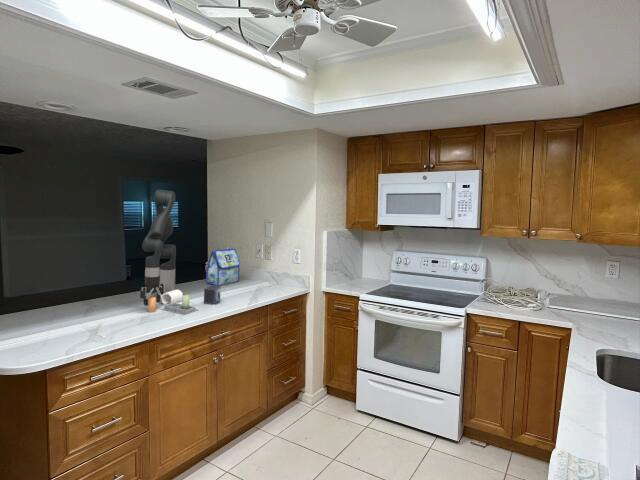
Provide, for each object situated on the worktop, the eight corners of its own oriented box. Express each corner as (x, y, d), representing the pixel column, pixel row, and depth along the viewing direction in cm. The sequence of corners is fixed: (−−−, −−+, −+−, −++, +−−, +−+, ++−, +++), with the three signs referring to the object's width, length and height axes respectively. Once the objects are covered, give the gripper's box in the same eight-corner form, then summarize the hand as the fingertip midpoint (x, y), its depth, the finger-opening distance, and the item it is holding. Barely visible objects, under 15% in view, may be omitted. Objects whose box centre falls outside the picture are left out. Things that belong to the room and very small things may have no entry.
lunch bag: (219, 287, 293) (220, 251, 290) (204, 283, 302) (205, 249, 299) (241, 282, 311) (242, 249, 309) (226, 279, 320) (227, 246, 318)
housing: (160, 311, 228) (160, 306, 227) (175, 306, 239) (175, 301, 238) (184, 316, 220) (184, 311, 220) (199, 311, 231) (199, 306, 231)
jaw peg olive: (180, 311, 227) (180, 295, 226) (185, 309, 230) (185, 294, 229) (185, 312, 225) (186, 296, 224) (190, 310, 229) (191, 295, 228)
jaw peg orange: (146, 313, 223) (146, 297, 222) (152, 311, 226) (152, 296, 225) (151, 314, 221) (151, 298, 220) (157, 312, 225) (157, 297, 224)
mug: (183, 302, 247) (183, 290, 246) (172, 306, 238) (172, 293, 237) (167, 300, 251) (167, 287, 250) (155, 304, 242) (155, 291, 241)
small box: (213, 306, 243) (213, 289, 242) (203, 305, 244) (203, 288, 243) (220, 302, 253) (221, 286, 252) (211, 301, 254) (211, 285, 253)
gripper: (157, 272, 229) (157, 300, 231) (136, 276, 216) (136, 305, 218) (167, 274, 226) (167, 302, 228) (147, 277, 213) (146, 307, 215)
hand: (152, 303), depth 223 cm, fingers open, 8 cm apart
